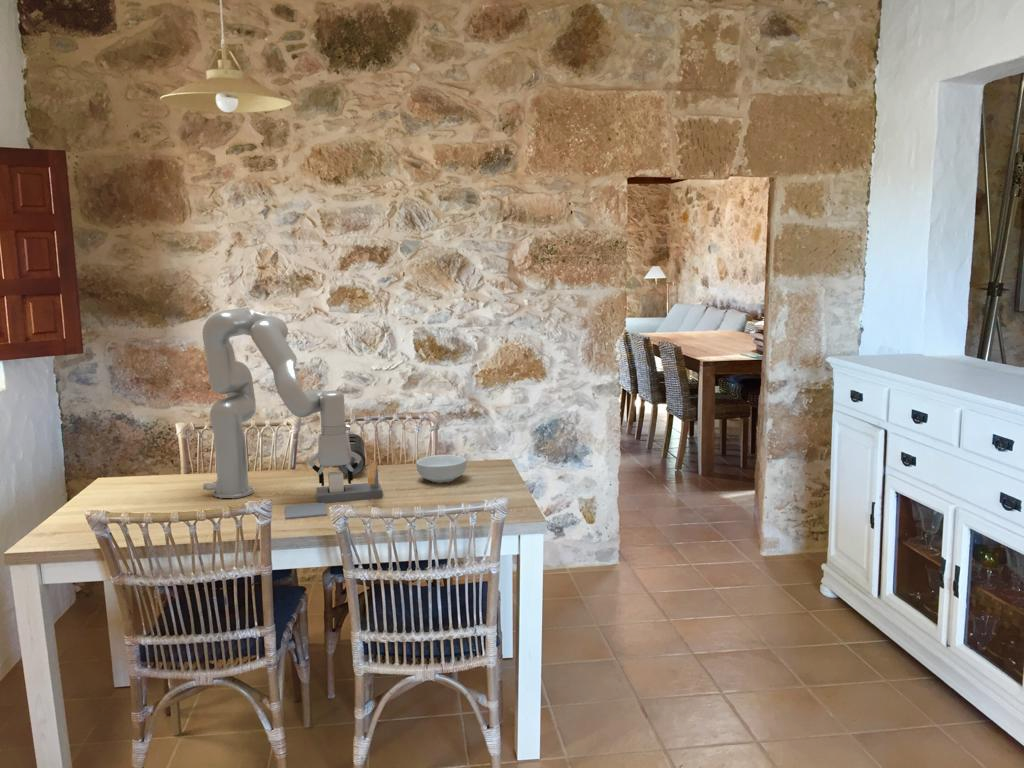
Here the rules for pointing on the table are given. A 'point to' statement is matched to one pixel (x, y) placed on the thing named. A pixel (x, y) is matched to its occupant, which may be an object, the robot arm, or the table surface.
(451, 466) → the cereal bowl
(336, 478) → the plug
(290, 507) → the mat
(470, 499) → the table surface
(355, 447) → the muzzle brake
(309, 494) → the table surface
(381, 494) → the socket block
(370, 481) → the orange wooden bar
